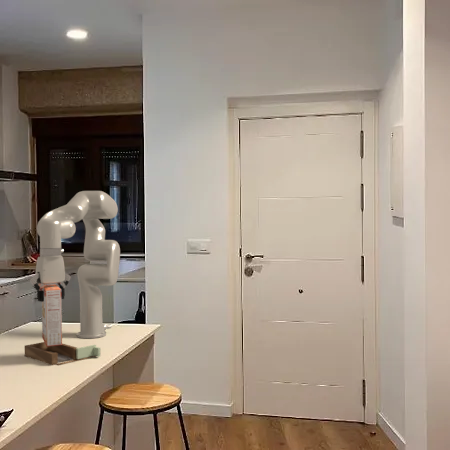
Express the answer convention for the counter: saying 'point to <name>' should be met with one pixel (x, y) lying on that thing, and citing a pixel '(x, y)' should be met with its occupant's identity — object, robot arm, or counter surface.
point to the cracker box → (52, 316)
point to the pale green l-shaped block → (87, 351)
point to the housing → (52, 353)
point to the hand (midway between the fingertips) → (51, 299)
